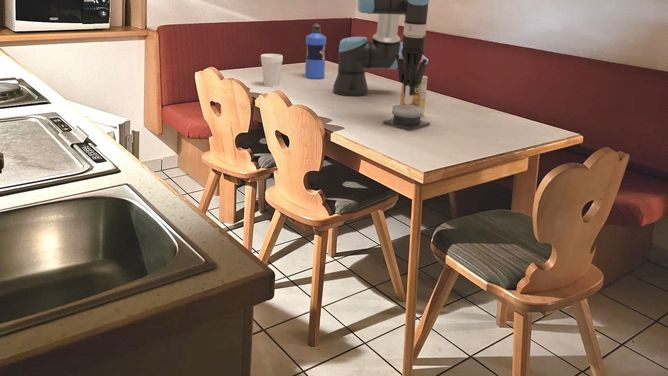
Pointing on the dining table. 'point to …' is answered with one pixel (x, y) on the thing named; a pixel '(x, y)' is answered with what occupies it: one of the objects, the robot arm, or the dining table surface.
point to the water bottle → (315, 54)
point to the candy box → (417, 94)
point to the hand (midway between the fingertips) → (408, 103)
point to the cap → (407, 111)
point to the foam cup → (271, 68)
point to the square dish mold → (406, 123)
